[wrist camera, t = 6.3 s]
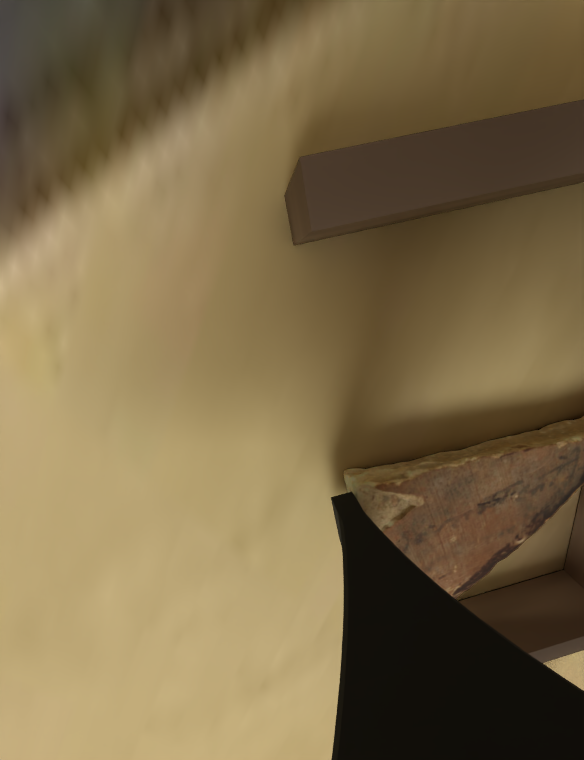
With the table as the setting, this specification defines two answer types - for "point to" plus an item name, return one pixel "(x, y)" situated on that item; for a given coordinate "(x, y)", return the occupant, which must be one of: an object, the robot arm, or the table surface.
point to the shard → (472, 500)
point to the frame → (443, 194)
